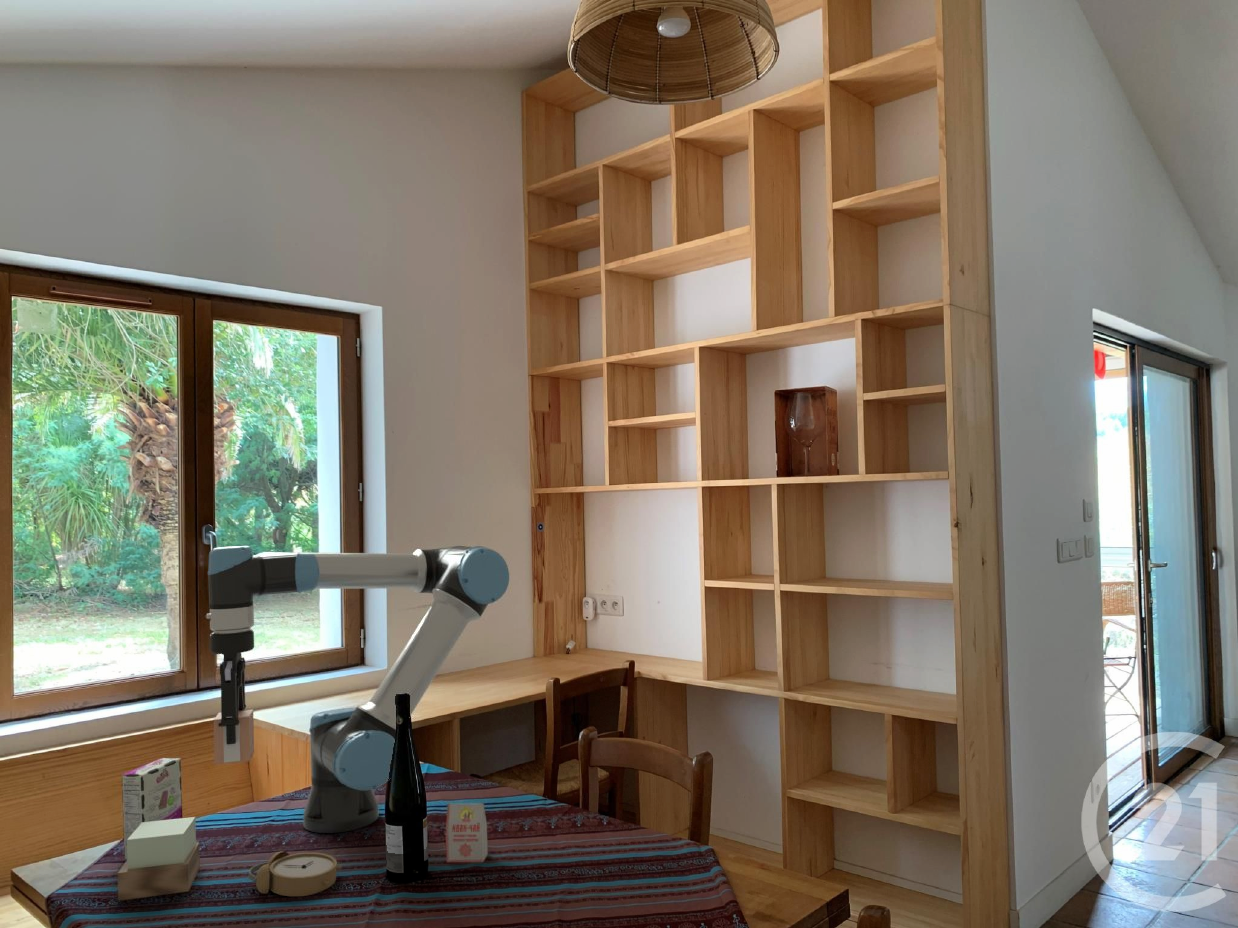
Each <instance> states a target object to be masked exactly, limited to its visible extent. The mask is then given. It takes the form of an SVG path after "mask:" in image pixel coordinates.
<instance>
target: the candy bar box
mask: <svg viewBox="0 0 1238 928" xmlns="http://www.w3.org/2000/svg"><path fill="white" fill-rule="evenodd" d="M181 760H182V759H181V758H180V757H179V758H178V757H175V758H174V757H173V758H172V757H162V758H161V757H160V758H158V759H155V760H154V761H151V762H148V763H146V764H144V765H141V766H139V767H137V768H134V769H132V770H130V771H127V772H125V773H123V774H121V791H122V793H121V794H122V798H121V799H122V817H123V818H122V820H123V821H122V825H123V851H124V852H123V853H124V856H123V857H124V861H126V860H127V839H128V838H129V837H130V836H131V835H132V833H133V832H134V831H135V830H136V829H137V828H138V827H139V825H140V824H141V823H142V822H151V821H160V820H170V819H180V818H183V800H182V797H183V795H182V793H183V792H182V791H183V790H182V769H181V768H182V767H181V766H182V765H181Z"/></svg>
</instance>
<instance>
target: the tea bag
mask: <svg viewBox="0 0 1238 928" xmlns="http://www.w3.org/2000/svg"><path fill="white" fill-rule="evenodd" d="M446 808H447V809H446V819H445V820H446V822H445V851H446V852H445V854H446V863H484V861H486V860H485V859H486V858H487V857H488V853H489V851H488V827H487V825H488V824H487V817H486V812H485V804H484V803H483V802H482V803H481V802H477V803H476V802H475V803H474V802H472V803H471V802H470V803H469V802H466V803H465V802H463V803H453V802H451V803H447V807H446Z"/></svg>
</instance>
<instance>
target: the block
mask: <svg viewBox="0 0 1238 928" xmlns="http://www.w3.org/2000/svg"><path fill="white" fill-rule="evenodd" d="M227 718H228V717H227ZM238 720H239V723H238V724H240V755H241V760H240V761H234V762H225V763H224V743H223V726H222V727H219V725H218V723H221V712H218V713H217V714H216V716H215V717H214V718H213V748H214V749H213V750H214V751H213V754H214V755H213V756H214V758H213V759H214V760H213V761H214V765H222V764H232V763H243V762H250V761H251V760H252V757H253V756H254V754H255V732H254V731H255V730H254V729H255V727H254V722H255V721H254V720H255V719H254V709H249V710H248V709H244V710H242V711H238Z"/></svg>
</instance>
